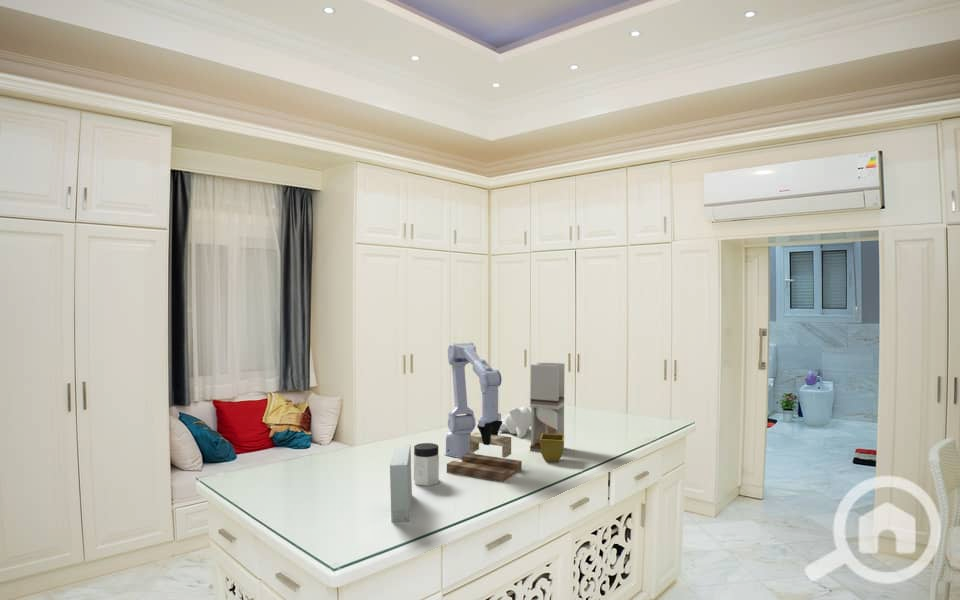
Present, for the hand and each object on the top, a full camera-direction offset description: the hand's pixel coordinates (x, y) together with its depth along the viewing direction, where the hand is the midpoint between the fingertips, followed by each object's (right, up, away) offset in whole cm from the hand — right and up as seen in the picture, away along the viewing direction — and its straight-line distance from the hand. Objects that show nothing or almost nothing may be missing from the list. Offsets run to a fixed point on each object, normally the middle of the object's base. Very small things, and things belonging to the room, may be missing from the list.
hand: (489, 442), depth 197 cm
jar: (-22, -10, -12) cm, 27 cm away
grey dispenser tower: (+24, -11, +30) cm, 40 cm away
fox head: (+12, -11, +58) cm, 60 cm away
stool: (0, -4, 0) cm, 4 cm away
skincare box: (-26, -10, -35) cm, 45 cm away
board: (-2, -10, +1) cm, 10 cm away
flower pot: (+24, -11, +15) cm, 30 cm away
